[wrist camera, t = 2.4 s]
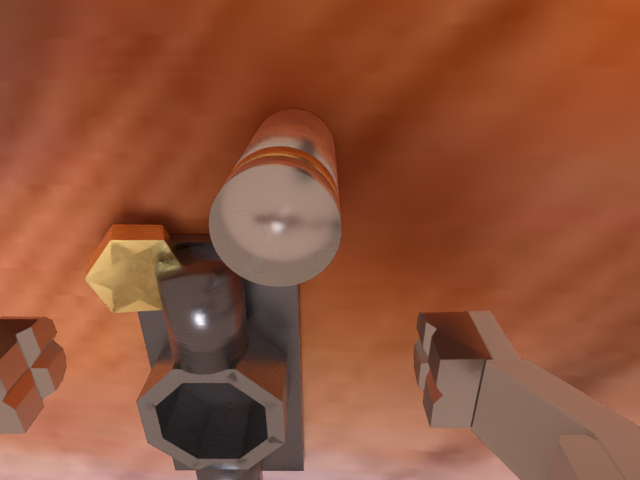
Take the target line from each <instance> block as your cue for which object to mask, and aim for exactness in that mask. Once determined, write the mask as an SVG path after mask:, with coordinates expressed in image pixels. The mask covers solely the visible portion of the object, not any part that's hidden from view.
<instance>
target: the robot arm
mask: <svg viewBox="0 0 640 480" xmlns="http://www.w3.org/2000/svg"><path fill="white" fill-rule="evenodd" d="M417 330H418V333H419V337H420V339H419V340H418V341H417V342H416V343H415V348H414V369H415V375H416V380H417V383H418V386H419V387H420V388H421V389H422V390H424V396H423V405H424V408H425V412H426V415H427V418H428V422H429V425H430V428H472V430H471V431H472V432H473V433H474V434H475V435H476V436H477V437H478V438H479V439H480V440H481V441H482V442H483V443H484V444H485V445H486V446H487V447H488V448H489V449H490V450H491V451H492V452H493V453H494V454H495V455H496V456H497V457H498V458H499V459H500V460H501V461H502V462H503V463H504V464H505V465H506V466H507V467H508V468H509V469H510V470H511V471H512V472H513V473H514V474H515V475H516V476H517V477H518V478H519V479H520V480H640V427H639V426H638V425H636V424H634V423H633V422H631V421H629V420H628V419H626V418H624V417H623V416H621V415H619V414H618V413H616V412H614V411H613V410H611V409H609V408H608V407H606V406H604V405H603V404H601V403H599V402H598V401H596V400H594V399H593V398H591V397H589V396H588V395H586V394H584V393H583V392H581V391H579V390H578V389H576V388H574V387H573V386H571V385H569V384H568V383H566V382H564V381H563V380H561V379H559V378H558V377H556V376H555V375H553V374H551V373H550V372H548V371H546V370H545V369H543V368H541V367H540V366H538V365H536V364H535V363H533V362H531V361H530V360H528V359H520V358H519V356H518V354H517V353H516V351H515V349H514V348H513V346H512V345H511V343H510V341H509V340H508V338H507V337H506V335H505V333H504V332H503V330H502V329H501V327H500V325H499V324H498V322H497V321H496V319H495V317H494V316H493V314H492V313H491V312H490V311H488V310H474V311H465V312H421V313H419V316H418V321H417ZM56 334H57V330H56V328H55V325H54V323H53V321H52V320H51V319H49V318H47V317H6V316H2V317H0V434H20V433H26V432H27V430H28V429H29V428H30V426H31V425H32V423H33V422H34V421H35V419H36V418H37V416H38V415H39V414H40V412H41V411H42V409H43V408H44V404H43V399H44V398H45V397H47V396H48V395H50V394H52V393H53V392H55V391H56V390H57V388H58V387H59V385H60V384H61V382H62V381H63V377H64V374H65V370H66V356H65V353H64V350H63V348H62V347H61V346H60V345H58V344H57V343H56V342H55V341H54V340H53V339H54V338H55V336H56Z"/></svg>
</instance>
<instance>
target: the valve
mask: <svg viewBox="0 0 640 480" xmlns="http://www.w3.org/2000/svg"><path fill="white" fill-rule="evenodd" d="M209 232H210V237H211V241H212V243H213V246H214V248H215V250H216V252H217V254H218V255H219V257H220V258H221V260H222V261H223V262H224V263H225V264H226V265H227V266H228V267H229V268H230V269H231V270H232V271H233V272H235V273H236V274H238V275H239V276H241V277H243V278H245V279H246V280H249V281H251V282H254V283H257V284H260V285H265V286H272V287H285V286H292V285H296V284H300V283H303V282H305V281H308V280H310V279H312V278H313V277H315V276H317V275H318V274H319V273H321V272H322V271H323V270H324V269H325V268H326V267H327V266H328V265H329V264H330V262H331V261H332V260H333V258H334V256H335V254H336V252H337V250H338V247H339V244H340V240H341V216H340V204H339V192H338V180H337V168H336V155H335V144H334V140H333V137H332V134H331V132H330V130H329V128H328V127H327V125H326V124H325V123H324V122H323V121H322V120H321V119H320V118H319V117H317V116H316V115H314V114H312V113H310V112H308V111H305V110H300V109H286V110H281V111H278V112H276V113H274V114H272V115H271V116H269V117H268V118H267V119H266V120H265V121H264V122H263V123H262V124H261V125H260V127H259V128H258V130H257V132H256V133H255V135H254V136H253V138H252V140H251V141H250V143H249V145H248V146H247V148H246V149H245V151H244V153H243V154H242V156H241V157H240V159H239V161H238V162H237V164H236V165H235V167H234V169H233V170H232V172H231V174H230V175H229V177H228V178H227V180H226V182H225V183H224V185H223V186H222V188H221V190H220V191H219V193H218V195H217V196H216V198H215V200H214V202H213V204H212V207H211V211H210V215H209Z"/></svg>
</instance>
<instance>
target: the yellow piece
mask: <svg viewBox="0 0 640 480" xmlns="http://www.w3.org/2000/svg"><path fill="white" fill-rule="evenodd" d="M176 251H177V250H176V248H175V247H174V245H173V243H172V240H171V238H170V236H169V235H168V233H167V231H166V230H165V228H164V227H163V225H130V224H113V225H112V226H111V228H110V229H109V230H108V232H107V233H106V235H105V236H104V238H103V239H102V241H101V242H100V244H99V245H98V247H97V248H96V250H95V251H94V253H93V254H92V256H91V257H90V258H89V260H88V264H87V269H86V274H85V280H86V281H87V282H88V284H89V285H90V286H91V287H92V288H93V290H94V291H95V292H96V293H97V294H98V296H99V297H100V298H101V299H102V300H103V302H104V303H105V304H106V305H107V306H108V308H109V309H110V310H111V311H112V312H113V313H119V312H136V311H153V310H162V305H161V300H160V295H159V290H158V285H157V281H156V276H155V268H156V266H157V264H158V263H159V262H160V261H161V260H164V259H170V258H176V257H175V252H176Z"/></svg>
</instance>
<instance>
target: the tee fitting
mask: <svg viewBox="0 0 640 480" xmlns="http://www.w3.org/2000/svg"><path fill="white" fill-rule="evenodd" d="M168 235H169V236H170V238H171V240H172V243H173V245H174V247H175V248H176V250H177V251H176V252H175V257H176V258H170V259H164V260H161V261H160V262H159V263H158V264H157V266H156V268H155V276H156V281H157V285H158V290H159V295H160V300H161V305H162V310H153V311H138V315H139V319H140V324H141V328H142V332H143V336H144V340H145V344H146V349H147V353H148V357H149V361H150V365H151V370H152V371H151V373H150V375H149V377H148V379H147V381H146V383H145V385H144V387H143V389H142V391H141V393H140V395H139V397H138V399H137V401H136V402H137V406H138V409H139V413H140V417H141V420H142V424H143V428H144V432H145V435H146V439H147V443H149V444H150V445H152V446H154V447H156V448H157V449H159V450H161V451H163V452H164V453H166V454H168V455H169V456H171V457H172V458H173V462H174V466H175V470H196V474H197V479H198V480H263V475H262V471H304V440H303V409H302V379H301V348H300V317H299V286H298V284H296V285H292V286H285V287H272V286H265V285H260V284H257V283H254V282H251V281H249V280H246V279H245V278H243V277H241V276H239V275H238V274H236V273H235V272H233V271H232V270H231V269H230V268H229V267H228V266H227V265H226V264H225V263H224V262H223V261H222V260H221V258H220V257H219V255H218V254H217V252H216V250H215V248H214V246H213V243H212V241H211V237H210V234H168Z"/></svg>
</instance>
